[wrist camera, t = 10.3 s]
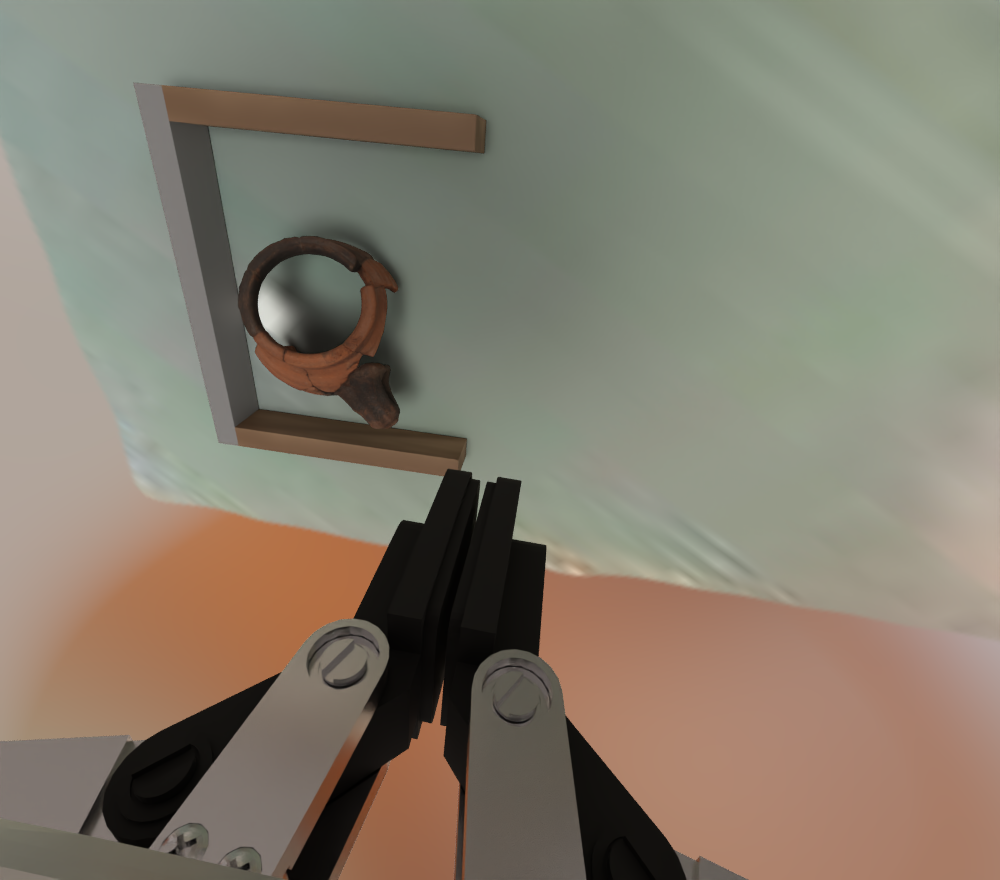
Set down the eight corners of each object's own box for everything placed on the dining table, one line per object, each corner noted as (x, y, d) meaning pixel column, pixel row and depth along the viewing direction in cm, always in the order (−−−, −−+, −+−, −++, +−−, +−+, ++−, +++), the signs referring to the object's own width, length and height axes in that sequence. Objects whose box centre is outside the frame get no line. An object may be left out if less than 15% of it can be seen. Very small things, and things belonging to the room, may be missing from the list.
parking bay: (176, 91, 27) (133, 82, 24) (486, 120, 25) (476, 114, 23) (243, 423, 37) (218, 442, 34) (465, 456, 36) (457, 478, 33)
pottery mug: (252, 325, 34) (181, 289, 25) (359, 243, 34) (323, 181, 26) (361, 458, 34) (327, 466, 26) (465, 376, 35) (464, 357, 26)
